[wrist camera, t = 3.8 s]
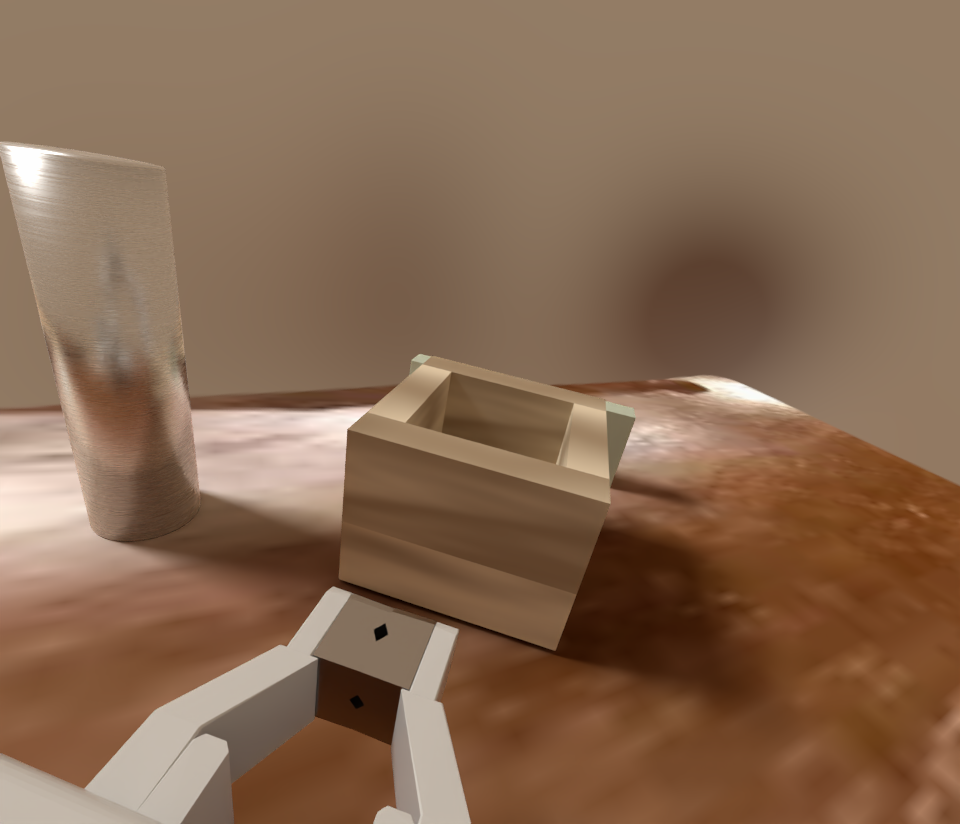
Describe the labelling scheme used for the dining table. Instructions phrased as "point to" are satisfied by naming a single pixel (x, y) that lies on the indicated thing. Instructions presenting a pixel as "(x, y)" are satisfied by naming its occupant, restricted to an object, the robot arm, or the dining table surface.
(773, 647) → the dining table surface
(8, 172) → the dowel
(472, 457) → the socket block
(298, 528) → the dining table surface
